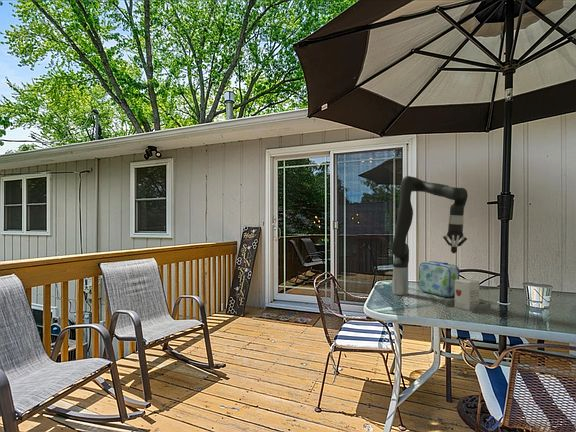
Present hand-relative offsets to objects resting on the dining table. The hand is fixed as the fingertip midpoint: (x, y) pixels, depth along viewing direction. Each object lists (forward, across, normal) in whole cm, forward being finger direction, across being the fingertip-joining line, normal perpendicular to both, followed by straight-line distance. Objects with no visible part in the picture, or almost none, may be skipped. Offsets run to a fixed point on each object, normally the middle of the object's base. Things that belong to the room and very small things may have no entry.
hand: (453, 253), depth 197 cm
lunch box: (+31, +3, -19) cm, 37 cm away
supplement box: (+27, -6, +13) cm, 31 cm away
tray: (+27, -6, +12) cm, 30 cm away
